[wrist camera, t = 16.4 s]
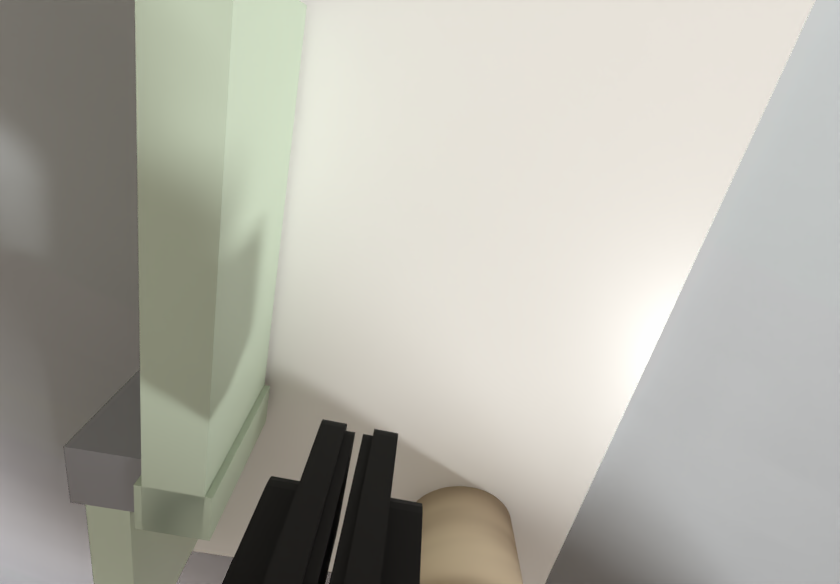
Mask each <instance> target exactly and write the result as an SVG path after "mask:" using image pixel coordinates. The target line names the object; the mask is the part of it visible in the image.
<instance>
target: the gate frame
mask: <svg viewBox="0 0 840 584" xmlns="http://www.w3.org/2000/svg"><path fill="white" fill-rule="evenodd" d="M299 1H301V2H302V3H304V4H306V5H307V9H306V18H305V27H304V36H303V45H302V54H301V63H300V71H299V80H298V89H297V98H296V107H295V116H294V125H293V134H292V143H291V152H290V161H289V170H288V179H287V188H286V197H285V206H284V215H283V224H282V232H281V241H280V250H279V259H278V268H277V277H276V286H275V295H274V304H273V313H272V322H271V331H270V340H269V349H268V358H267V367H266V376H265V385H267V386H270V391H269V400H268V408H267V417H266V422H265V425H264V427H263V429H262V431H261V433H260V435H259V437H258V439H257V442H256V444H255V446H254V448H253V450H252V452H251V454H250V456H249V459H248V461H247V463H246V465H245V467H244V469H243V471H242V473H241V475H240V478H239V480H238V482H237V484H236V486H235V488H234V490H233V492H232V495H231V497H230V499H229V501H228V503H227V505H226V507H225V509H224V512H223V514H222V516H221V518H220V520H219V522H218V524H217V526H216V528H215V531H214V533H213V535H212V537H211V539H210V541H207V540H201V539H195V538H189V537H182V536H176V535H170V534H164V533H158V532H152V531H146V530H140V529H135V525H134V484H135V482H136V481H137V480H138V478H139V477H140V475H141V410H140V370H139V371H138V372H137V373H136V374H135V375H134V376H133V377H132V378H131V379H130V380H129V381H128V382H127V383H126V384H125V385H124V386H123V387H122V388H121V389H120V390H119V391H118V392H117V393H116V394H115V395H114V396H113V397H112V398H111V399H110V400H109V401H108V402H107V403H106V404H105V405H104V406H103V407H102V408H101V409H100V410H99V411H98V412H97V413H96V414H95V415H94V416H93V417H92V418H91V419H90V420H89V421H88V422H87V423H86V424H85V426H84V427H83V428H82V429H81V430H80V431H79V432H78V433H77V434H76V435H75V436H74V437H73V438H72V439H71V440H70V441H69V442H68V443H67V444H66V445H65V446H64V454H65V462H66V470H67V479H68V487H69V495H70V502H72V503H78V504H85V506H86V516H87V525H88V535H89V544H90V553H91V563H92V572H93V582H94V584H176V583H177V581H178V579H179V577H180V575H181V573H182V571H183V569H184V567H185V565H186V563H187V561H188V559H189V557H190V555H191V553H192V551H195V552H201V553H208V554H214V555H221V556H228V557H234V556H235V553H236V551H237V549H238V547H239V544H240V542H241V540H242V538H243V535H244V533H245V531H246V529H247V526H248V524H249V522H250V520H251V517H252V515H253V513H254V511H255V508H256V506H257V504H258V502H259V499H260V497H261V495H262V493H263V490H264V488H265V486H266V484H267V482H268V480H269V478H270V477H271V476H275V477H280V478H286V479H291V480H297V481H300V479H301V476H302V473H303V471H304V468H305V465H306V462H307V460H308V457H309V454H310V451H311V449H312V446H313V443H314V440H315V438H316V435H317V432H318V429H319V426H320V424H321V421H322V420H323V419H324V420H330V421H335V422H340V423H346V424H347V429H346V431H351V432H355V438H354V443H353V449H352V454H351V460H350V465H349V471H348V476H347V482H346V487H345V493H344V498H343V503H342V509H341V514H340V520H339V525H338V530H337V535H336V539H335V543H334V548H333V552H332V556H331V560H330V565H329V569H328V572H332V569H333V565H334V561H335V556H336V552H337V547H338V543H339V538H340V534H341V529H342V525H343V521H344V516H345V512H346V507H347V503H348V498H349V494H350V490H351V485H352V481H353V476H354V472H355V467H356V463H357V459H358V454H359V450H360V445H361V441H362V436H363V434H367V435H372V436H373V432H374V429H378V430H383V431H389V432H394V433H398V441H397V450H396V458H395V466H394V474H393V482H392V491H391V498H396V499H402V500H407V501H413V502H416V501H417V500H419V499H420V498H421V497H423V496H424V495H426V494H428V493H430V492H432V491H434V490H438V489H441V488H446V487H453V486H465V487H473V488H477V489H480V490H484V491H486V492H488V493H490V494H492V495H494V496H495V497H496V498H498V499H499V500H500V501H501V502H502V503H503V504H504V505H505V507H506V508H507V510H508V512H509V514H510V517H511V522H512V527H513V533H514V538H515V543H516V549H517V554H518V559H519V564H520V570H521V575H522V580H523V584H545V583H546V580H547V578H548V576H549V574H550V572H551V570H552V567H553V565H554V563H555V561H556V559H557V557H558V555H559V552H560V550H561V548H562V546H563V544H564V542H565V539H566V537H567V535H568V533H569V531H570V529H571V526H572V524H573V522H574V520H575V518H576V516H577V514H578V511H579V509H580V507H581V505H582V503H583V501H584V498H585V496H586V494H587V492H588V490H589V488H590V486H591V483H592V481H593V479H594V477H595V475H596V473H597V470H598V468H599V466H600V464H601V462H602V460H603V458H604V455H605V453H606V451H607V449H608V447H609V445H610V442H611V440H612V438H613V436H614V434H615V432H616V430H617V427H618V425H619V423H620V421H621V419H622V417H623V414H624V412H625V410H626V408H627V406H628V404H629V402H630V399H631V397H632V395H633V393H634V391H635V389H636V386H637V384H638V382H639V380H640V378H641V376H642V374H643V371H644V369H645V367H646V365H647V363H648V361H649V358H650V356H651V354H652V352H653V350H654V348H655V346H656V343H657V341H658V339H659V337H660V335H661V333H662V330H663V328H664V326H665V324H666V322H667V320H668V317H669V315H670V313H671V311H672V309H673V307H674V305H675V302H676V300H677V298H678V296H679V294H680V292H681V289H682V287H683V285H684V283H685V281H686V279H687V277H688V274H689V272H690V270H691V268H692V266H693V264H694V261H695V259H696V257H697V255H698V253H699V251H700V249H701V246H702V244H703V242H704V240H705V238H706V236H707V233H708V231H709V229H710V227H711V225H712V223H713V221H714V218H715V216H716V214H717V212H718V210H719V208H720V205H721V203H722V201H723V199H724V197H725V195H726V193H727V190H728V188H729V186H730V184H731V182H732V180H733V177H734V175H735V173H736V171H737V169H738V167H739V165H740V162H741V160H742V158H743V156H744V154H745V152H746V149H747V147H748V145H749V143H750V141H751V139H752V136H753V134H754V132H755V130H756V128H757V126H758V124H759V121H760V119H761V117H762V115H763V113H764V111H765V108H766V106H767V104H768V102H769V100H770V98H771V96H772V93H773V91H774V89H775V87H776V85H777V83H778V80H779V78H780V76H781V74H782V72H783V70H784V68H785V65H786V63H787V61H788V59H789V57H790V55H791V52H792V50H793V48H794V46H795V44H796V42H797V40H798V37H799V35H800V33H801V31H802V29H803V27H804V24H805V22H806V20H807V18H808V16H809V14H810V12H811V9H812V7H813V5H814V3H815V1H816V0H299Z"/></svg>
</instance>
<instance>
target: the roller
mask: <svg viewBox="0 0 840 584" xmlns="http://www.w3.org/2000/svg"><path fill="white" fill-rule="evenodd" d="M416 502H418V503H422V506H423V518H422V543H421V567H420V584H523V580H522V575H521V570H520V564H519V559H518V554H517V549H516V543H515V538H514V533H513V527H512V522H511V517H510V514H509V512H508V510H507V508H506V507H505V505H504V504H503V503H502V502H501V501H500V500H499V499H498V498H496V497H495V496H494V495H492V494H490V493H488V492H486V491H484V490H480V489H477V488H473V487H465V486H453V487H446V488H441V489H438V490H434V491H432V492H430V493H428V494H426V495H424V496H423V497H421V498H420V499H419V500H417V501H416Z"/></svg>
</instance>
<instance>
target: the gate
mask: <svg viewBox="0 0 840 584" xmlns="http://www.w3.org/2000/svg"><path fill="white" fill-rule="evenodd" d="M306 9H307V5H306V4H304V3H302V2H301V1H299V0H135V50H136V122H137V194H138V266H139V338H140V410H141V475H140V477H139V478H138V480H137V481H136V482H135V484H134V525H135V529H140V530H146V531H152V532H158V533H164V534H170V535H176V536H182V537H189V538H195V539H201V540H207V541H210V539H211V537H212V535H213V533H214V531H215V528H216V526H217V524H218V522H219V520H220V518H221V516H222V514H223V512H224V509H225V507H226V505H227V503H228V501H229V499H230V497H231V495H232V492H233V490H234V488H235V486H236V484H237V482H238V480H239V478H240V475H241V473H242V471H243V469H244V467H245V465H246V463H247V461H248V459H249V456H250V454H251V452H252V450H253V448H254V446H255V444H256V442H257V439H258V437H259V435H260V433H261V431H262V429H263V427H264V425H265V422H266V417H267V408H268V400H269V391H270V386H267V385H265V376H266V367H267V358H268V349H269V340H270V331H271V322H272V313H273V304H274V295H275V286H276V277H277V268H278V259H279V250H280V241H281V232H282V224H283V215H284V206H285V197H286V188H287V179H288V170H289V161H290V152H291V143H292V134H293V125H294V116H295V107H296V98H297V89H298V80H299V71H300V63H301V54H302V45H303V36H304V27H305V18H306Z"/></svg>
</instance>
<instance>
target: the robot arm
mask: <svg viewBox="0 0 840 584" xmlns="http://www.w3.org/2000/svg"><path fill="white" fill-rule="evenodd" d="M346 429H347V424H346V423H340V422H335V421H330V420H324V419H323V420H322V421H321V424H320V426H319V429H318V432H317V435H316V438H315V440H314V443H313V446H312V449H311V451H310V454H309V457H308V460H307V462H306V465H305V468H304V471H303V473H302V476H301V479H300V481H297V480H291V479H286V478H280V477H275V476H271V477H270V478H269V480H268V482H267V484H266V486H265V488H264V490H263V493H262V495H261V497H260V499H259V502H258V504H257V506H256V508H255V511H254V513H253V515H252V517H251V520H250V522H249V524H248V526H247V529H246V531H245V533H244V535H243V538H242V540H241V542H240V544H239V547H238V549H237V551H236V553H235V556H234V558H233V560H232V562H231V565H230V567H229V569H228V571H227V574H226V576H225V578H224V581H223V583H222V584H325V582H326V578H327V573H328V569H329V565H330V560H331V556H332V552H333V548H334V543H335V539H336V535H337V530H338V525H339V520H340V514H341V509H342V503H343V498H344V493H345V487H346V482H347V476H348V471H349V465H350V460H351V454H352V449H353V443H354V438H355V432H351V431H346ZM397 441H398V433H394V432H389V431H383V430H378V429H374V432H373V436H372V435H367V434H363V436H362V441H361V445H360V450H359V454H358V459H357V463H356V467H355V472H354V476H353V481H352V485H351V490H350V494H349V498H348V503H347V507H346V512H345V516H344V521H343V525H342V529H341V534H340V538H339V543H338V547H337V552H336V556H335V561H334V565H333V569H332V574H331V578H330V583H329V584H420V567H421V543H422V518H423V506H422V503H418V502H413V501H407V500H402V499H396V498H391V491H392V482H393V474H394V466H395V458H396V450H397Z"/></svg>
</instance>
